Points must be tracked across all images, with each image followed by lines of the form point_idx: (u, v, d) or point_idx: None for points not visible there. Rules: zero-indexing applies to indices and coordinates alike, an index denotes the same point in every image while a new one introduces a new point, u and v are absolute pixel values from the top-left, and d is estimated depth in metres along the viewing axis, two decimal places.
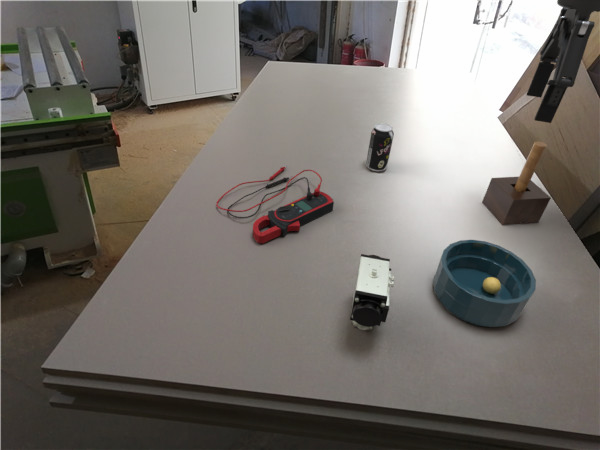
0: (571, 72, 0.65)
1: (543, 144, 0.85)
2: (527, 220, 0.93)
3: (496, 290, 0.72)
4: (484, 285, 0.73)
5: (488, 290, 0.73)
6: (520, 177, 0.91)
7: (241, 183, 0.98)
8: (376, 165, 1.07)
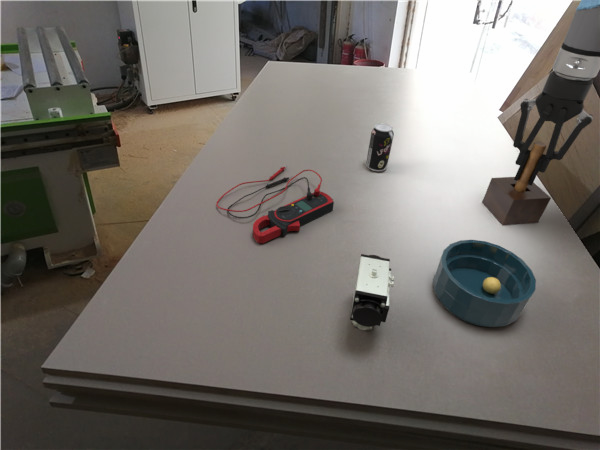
0: None
1: (543, 144, 0.85)
2: (527, 220, 0.93)
3: (496, 290, 0.72)
4: (484, 285, 0.73)
5: (488, 290, 0.73)
6: (520, 177, 0.91)
7: (241, 183, 0.98)
8: (376, 165, 1.07)
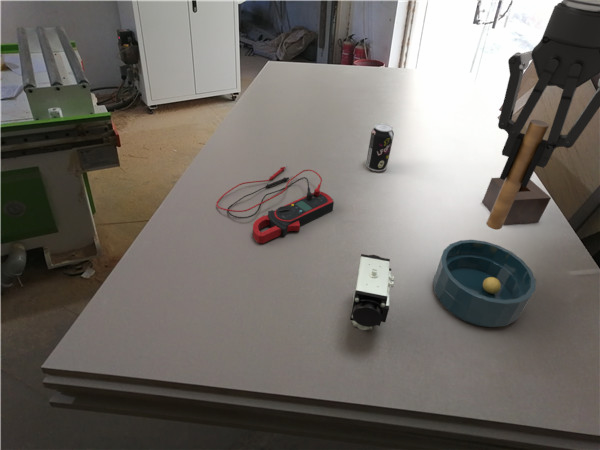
0: None
1: (544, 123, 0.55)
2: (527, 220, 0.93)
3: (496, 290, 0.72)
4: (484, 285, 0.73)
5: (488, 290, 0.73)
6: (509, 174, 0.61)
7: (241, 183, 0.98)
8: (376, 165, 1.07)
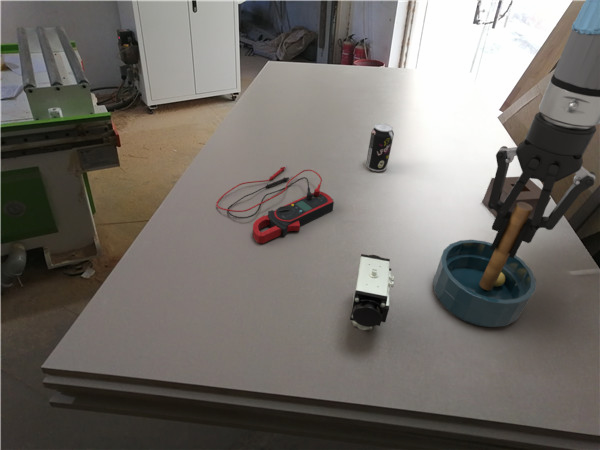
0: None
1: (528, 207, 0.63)
2: None
3: (504, 277, 0.74)
4: None
5: None
6: (498, 246, 0.68)
7: (241, 183, 0.98)
8: (376, 165, 1.07)
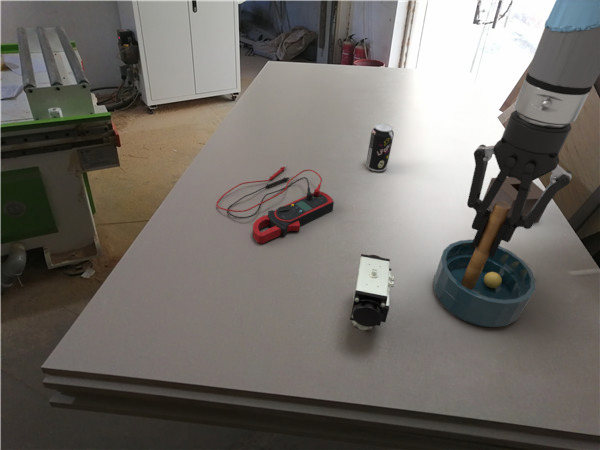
0: None
1: (506, 205, 0.63)
2: None
3: (498, 279, 0.73)
4: (486, 275, 0.75)
5: (490, 277, 0.74)
6: (478, 245, 0.68)
7: (241, 183, 0.98)
8: (376, 165, 1.07)
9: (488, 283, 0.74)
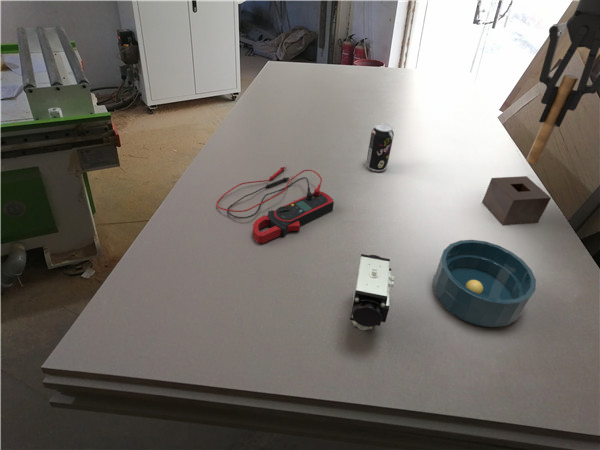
0: None
1: (574, 77, 0.75)
2: (527, 220, 0.93)
3: None
4: None
5: None
6: (546, 118, 0.80)
7: (241, 183, 0.98)
8: (376, 165, 1.07)
9: None
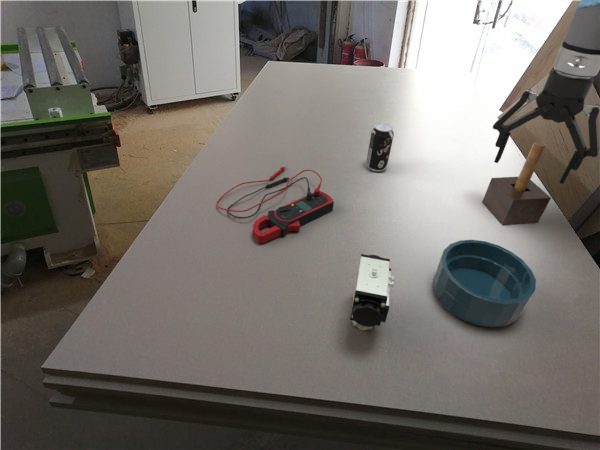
0: (598, 144, 0.80)
1: (543, 144, 0.85)
2: (527, 220, 0.93)
3: None
4: None
5: None
6: (520, 177, 0.91)
7: (241, 183, 0.98)
8: (376, 165, 1.07)
9: None
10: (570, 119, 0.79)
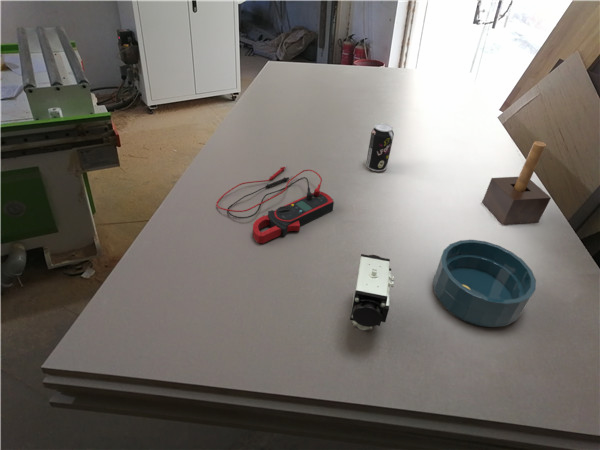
0: None
1: (543, 144, 0.85)
2: (527, 220, 0.93)
3: None
4: None
5: (467, 287, 0.71)
6: (520, 177, 0.91)
7: (241, 183, 0.98)
8: (376, 165, 1.07)
9: None
10: None
